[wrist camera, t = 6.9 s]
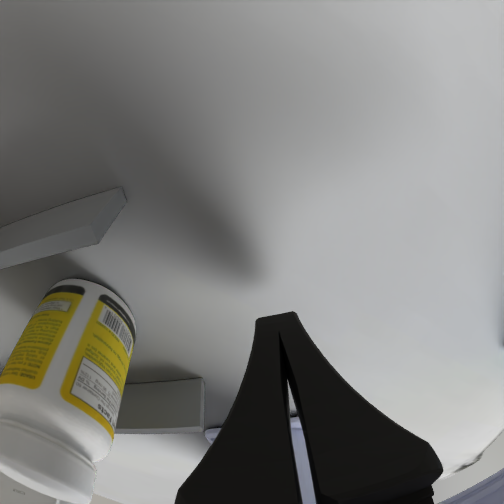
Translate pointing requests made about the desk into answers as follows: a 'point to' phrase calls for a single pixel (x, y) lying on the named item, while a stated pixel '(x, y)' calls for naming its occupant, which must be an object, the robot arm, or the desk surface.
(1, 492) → the photo printer
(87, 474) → the supplement bottle
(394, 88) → the desk surface
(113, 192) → the bay
